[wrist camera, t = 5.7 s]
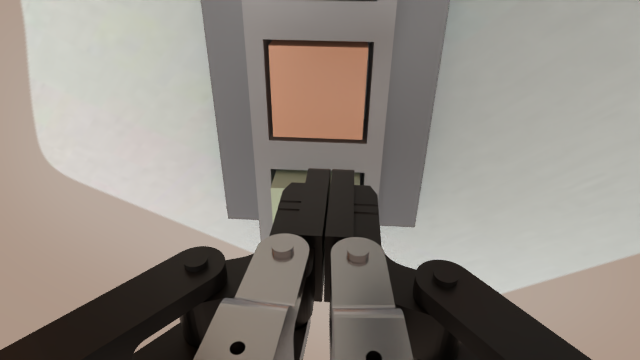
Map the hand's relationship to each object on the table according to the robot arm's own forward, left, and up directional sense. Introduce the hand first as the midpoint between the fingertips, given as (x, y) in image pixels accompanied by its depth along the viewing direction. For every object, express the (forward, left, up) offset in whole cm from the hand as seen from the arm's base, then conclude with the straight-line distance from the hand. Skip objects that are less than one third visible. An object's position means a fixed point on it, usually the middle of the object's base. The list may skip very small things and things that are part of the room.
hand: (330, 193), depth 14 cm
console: (+1, +1, -17) cm, 17 cm away
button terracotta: (+1, +1, -14) cm, 14 cm away
